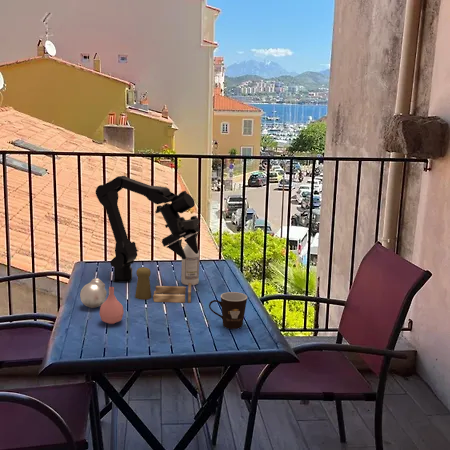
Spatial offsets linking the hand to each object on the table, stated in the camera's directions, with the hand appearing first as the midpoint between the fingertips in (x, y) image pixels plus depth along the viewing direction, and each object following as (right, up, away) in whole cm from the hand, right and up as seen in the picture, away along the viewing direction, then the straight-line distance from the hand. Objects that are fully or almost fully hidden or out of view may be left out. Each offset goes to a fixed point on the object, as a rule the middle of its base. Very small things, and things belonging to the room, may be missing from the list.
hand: (191, 256), depth 209 cm
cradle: (-7, -15, -1) cm, 17 cm away
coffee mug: (+14, -21, -24) cm, 35 cm away
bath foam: (-2, -12, +16) cm, 20 cm away
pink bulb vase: (-24, -20, -26) cm, 41 cm away
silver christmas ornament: (-33, -17, -13) cm, 39 cm away
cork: (-18, -15, -2) cm, 23 cm away
